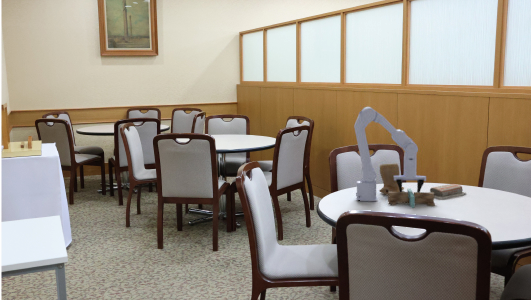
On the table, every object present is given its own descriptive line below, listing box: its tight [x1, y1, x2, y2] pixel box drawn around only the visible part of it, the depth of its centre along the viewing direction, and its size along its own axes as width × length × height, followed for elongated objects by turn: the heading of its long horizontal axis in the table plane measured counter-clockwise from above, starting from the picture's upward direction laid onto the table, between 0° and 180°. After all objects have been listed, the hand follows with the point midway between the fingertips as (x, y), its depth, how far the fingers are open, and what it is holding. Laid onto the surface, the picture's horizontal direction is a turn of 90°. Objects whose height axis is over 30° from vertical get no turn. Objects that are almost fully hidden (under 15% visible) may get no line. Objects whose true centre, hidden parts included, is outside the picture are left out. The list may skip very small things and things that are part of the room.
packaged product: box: [428, 183, 467, 200], centre depth 230 cm, size 18×5×10 cm
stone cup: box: [379, 162, 405, 196], centre depth 237 cm, size 15×12×15 cm
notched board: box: [387, 191, 436, 207], centre depth 217 cm, size 20×8×5 cm, turn 79°
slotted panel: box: [406, 188, 415, 209], centre depth 217 cm, size 16×2×5 cm, turn 169°
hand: (409, 195), depth 222 cm, fingers open, 7 cm apart
